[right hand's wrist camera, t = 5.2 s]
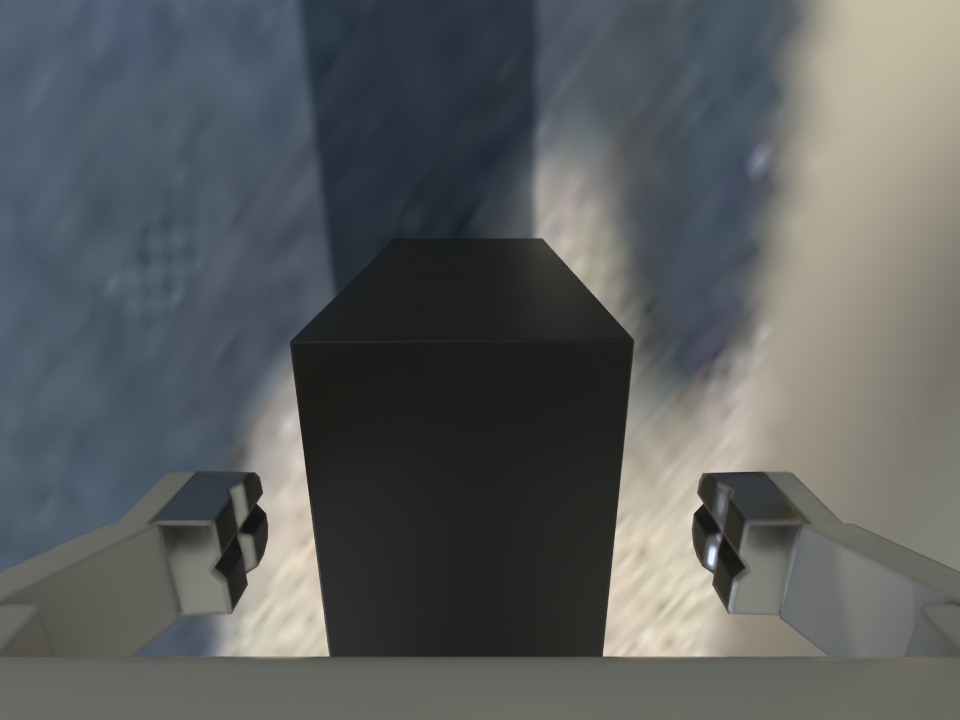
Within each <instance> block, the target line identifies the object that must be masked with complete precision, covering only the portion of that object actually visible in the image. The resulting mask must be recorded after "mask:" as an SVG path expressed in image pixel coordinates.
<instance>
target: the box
mask: <svg viewBox="0 0 960 720" xmlns="http://www.w3.org/2000/svg"><path fill="white" fill-rule="evenodd" d="M290 347H291V355H292V363H293V371H294V379H295V387H296V395H297V402H298V410H299V418H300V426H301V434H302V442H303V450H304V458H305V466H306V474H307V482H308V490H309V498H310V506H311V514H312V522H313V530H314V538H315V546H316V553H317V561H318V569H319V577H320V585H321V593H322V601H323V609H324V617H325V625H326V633H327V641H328V649H329V657H603V647H604V637H605V628H606V618H607V608H608V598H609V588H610V578H611V568H612V558H613V548H614V538H615V528H616V518H617V508H618V498H619V488H620V478H621V469H622V459H623V449H624V439H625V429H626V419H627V409H628V399H629V389H630V379H631V369H632V359H633V349H634V340H633V338H632V337H631V336H630V335H629V334H628V333H627V332H626V331H625V330H624V328H623V327H622V326H621V325H620V324H619V323H618V322H617V321H616V320H615V318H614V317H613V316H612V315H611V314H610V313H609V312H608V311H607V310H606V308H605V307H604V306H603V305H602V304H601V303H600V302H599V301H598V300H597V299H596V297H595V296H594V295H593V294H592V293H591V292H590V291H589V290H588V289H587V287H586V286H585V285H584V284H583V283H582V282H581V281H580V280H579V279H578V277H577V276H576V275H575V274H574V273H573V272H572V271H571V270H570V269H569V267H568V266H567V265H566V264H565V263H564V262H563V261H562V260H561V259H560V258H559V256H558V255H557V254H556V253H555V252H554V251H553V250H552V249H551V248H550V246H549V245H548V244H547V243H546V242H545V241H544V240H543V239H394V240H393V241H392V242H391V243H390V244H389V245H388V246H387V247H386V248H385V249H384V250H383V251H382V252H381V253H380V254H379V255H378V256H377V257H376V258H375V259H374V260H373V261H372V262H371V263H370V264H369V265H368V266H367V267H366V268H365V269H364V270H363V271H361V272H360V273H359V274H358V275H357V276H356V277H355V278H354V279H353V280H352V281H351V282H350V283H349V284H348V285H347V286H346V287H345V288H344V289H343V290H342V291H341V292H340V293H339V294H338V295H337V296H336V297H335V298H334V299H333V300H332V301H331V302H330V303H329V304H328V305H327V306H326V307H325V308H324V309H323V310H322V311H321V312H320V313H319V314H318V315H317V316H316V317H315V318H314V319H313V320H312V321H311V322H310V323H309V324H308V325H307V326H306V327H304V328H303V329H302V330H301V331H300V332H299V333H298V334H297V335H296V336H295V337H294V338H293V339H292V340H291V342H290Z"/></svg>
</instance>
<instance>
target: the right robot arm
mask: <svg viewBox="0 0 960 720" xmlns="http://www.w3.org/2000/svg"><path fill="white" fill-rule="evenodd" d="M262 494H263V491H262V486H261V481H260V477H259V476H258V475H257V474H256V473H255V472H215V471H202V472H200V471H174V472H169V473H167V474H166V475H165V476H164V477H163V478H162V479H161V480H160V481H159V482H158V483H157V484H156V485H155V486H154V487H153V488H152V489H151V490H150V491H149V492H148V493H147V494H146V495H145V496H144V497H143V498H142V499H141V500H140V501H139V502H138V503H137V504H136V505H135V506H134V507H133V508H132V509H131V510H130V511H129V512H128V513H127V514H126V515H125V516H124V517H123V518H122V519H121V520H120V521H119V522H118V523H116V524H105V525H103V526H101V527H99V528H96V529H94V530H92V531H90V532H87V533H85V534H83V535H81V536H78V537H76V538H74V539H72V540H70V541H67V542H65V543H63V544H61V545H58V546H56V547H54V548H52V549H49V550H47V551H45V552H43V553H40V554H38V555H36V556H34V557H31V558H29V559H27V560H25V561H23V562H20V563H18V564H16V565H14V566H11V567H9V568H7V569H5V570H2V571H0V720H960V572H959V571H957V570H955V569H953V568H951V567H948V566H946V565H944V564H942V563H939V562H937V561H935V560H933V559H930V558H928V557H926V556H924V555H922V554H919V553H917V552H915V551H913V550H910V549H908V548H906V547H904V546H902V545H899V544H897V543H895V542H893V541H890V540H888V539H886V538H884V537H881V536H879V535H877V534H875V533H873V532H870V531H868V530H866V529H864V528H861V527H859V526H857V525H855V524H844V523H843V522H842V521H841V520H839V519H838V518H837V517H836V516H835V515H834V514H833V513H832V512H831V511H830V510H829V509H828V508H827V507H826V506H825V505H824V504H823V503H822V502H821V501H820V500H819V499H818V498H817V497H816V496H815V495H814V494H813V493H812V492H811V491H810V490H809V489H808V488H807V487H806V486H805V485H804V484H803V483H802V482H801V481H800V480H799V479H798V478H797V477H796V476H795V475H794V474H793V473H791V472H788V471H764V472H728V473H703V474H702V476H701V478H700V481H699V485H698V491H697V494H698V495H699V497H700V498H701V500H702V502H703V503H704V504H703V505H702V506H701V507H700V508H699V509H698V510H697V511H696V512H695V513H694V516H693V524H692V536H693V545H694V548H695V552H696V555H697V557H698V559H699V561H700V563H701V565H702V566H703V567H704V568H706V569H707V570H709V571H710V572H712V573H713V574H714V577H713V583H712V585H713V587H714V589H715V590H716V592H717V594H718V596H719V598H720V599H721V601H722V603H723V605H724V607H725V608H726V610H727V612H728V614H746V615H780V618H781V619H782V620H783V621H785V622H786V623H787V624H788V625H790V626H791V627H792V628H793V629H795V630H796V631H797V632H799V633H800V634H801V635H802V636H804V637H805V638H806V639H807V640H809V641H810V642H811V643H812V644H814V645H815V646H816V647H817V648H819V649H820V650H821V651H823V652H824V653H825V654H826V655H828V656H829V657H131V656H133V655H134V654H135V653H136V652H138V651H139V650H140V649H141V648H143V647H144V646H145V645H146V644H148V643H149V642H150V641H152V640H153V639H154V638H155V637H157V636H158V635H159V634H160V633H162V632H163V631H164V630H166V629H167V628H168V627H169V626H171V625H172V624H173V623H174V622H176V621H177V620H178V619H179V618H180V615H213V614H232V612H233V610H234V608H235V607H236V605H237V603H238V601H239V599H240V598H241V596H242V594H243V592H244V590H245V589H246V587H247V585H248V583H247V577H246V574H247V573H248V572H250V571H251V570H253V569H254V568H256V567H257V566H258V565H259V563H260V561H261V559H262V557H263V555H264V552H265V548H266V543H267V539H268V523H267V516H266V513H265V512H264V511H263V510H262V509H261V508H260V507H259V506H258V505H257V504H256V503H257V502H258V500H259V498H260V497H261V495H262Z"/></svg>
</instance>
